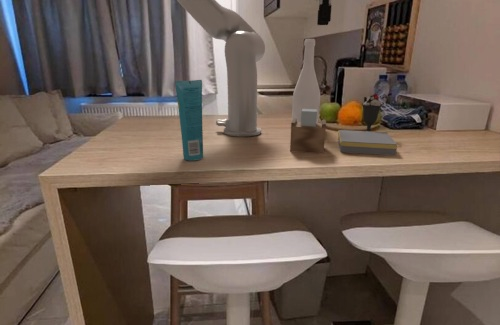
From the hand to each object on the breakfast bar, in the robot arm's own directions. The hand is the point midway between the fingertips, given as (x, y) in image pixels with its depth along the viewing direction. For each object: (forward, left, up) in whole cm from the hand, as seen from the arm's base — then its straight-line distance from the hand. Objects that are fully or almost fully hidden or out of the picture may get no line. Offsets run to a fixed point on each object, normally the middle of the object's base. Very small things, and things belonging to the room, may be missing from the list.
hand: (323, 23), depth 91 cm
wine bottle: (-4, +18, -34) cm, 38 cm away
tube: (-30, -27, -34) cm, 53 cm away
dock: (+14, -6, -33) cm, 37 cm away
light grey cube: (-2, -12, -27) cm, 29 cm away
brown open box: (-2, -12, -34) cm, 36 cm away
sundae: (+17, +9, -34) cm, 39 cm away
